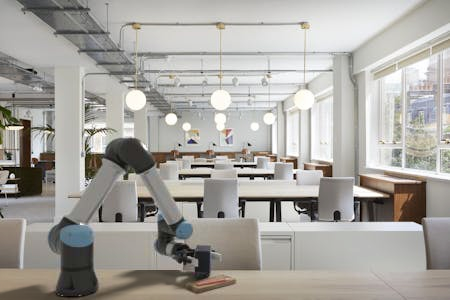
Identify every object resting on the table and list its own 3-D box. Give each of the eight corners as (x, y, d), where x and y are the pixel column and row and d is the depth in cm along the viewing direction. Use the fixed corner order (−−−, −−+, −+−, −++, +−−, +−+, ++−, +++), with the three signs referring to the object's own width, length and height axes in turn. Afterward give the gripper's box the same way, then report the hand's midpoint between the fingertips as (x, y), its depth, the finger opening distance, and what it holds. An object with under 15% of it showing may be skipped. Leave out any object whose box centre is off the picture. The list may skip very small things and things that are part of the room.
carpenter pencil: (198, 286, 162) (198, 284, 162) (196, 285, 163) (196, 283, 163) (229, 280, 169) (229, 278, 169) (228, 279, 170) (228, 277, 170)
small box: (210, 277, 174) (210, 250, 174) (194, 277, 174) (194, 250, 174) (211, 269, 184) (211, 244, 184) (196, 269, 184) (196, 244, 184)
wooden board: (186, 287, 166) (186, 283, 166) (222, 278, 177) (222, 274, 177) (198, 292, 160) (198, 288, 160) (236, 282, 171) (236, 278, 171)
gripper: (199, 255, 200) (231, 264, 184) (155, 264, 185) (185, 275, 168) (199, 238, 200) (231, 246, 184) (155, 246, 185) (184, 255, 168)
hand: (209, 260), depth 176 cm, fingers closed on small box, 11 cm apart
